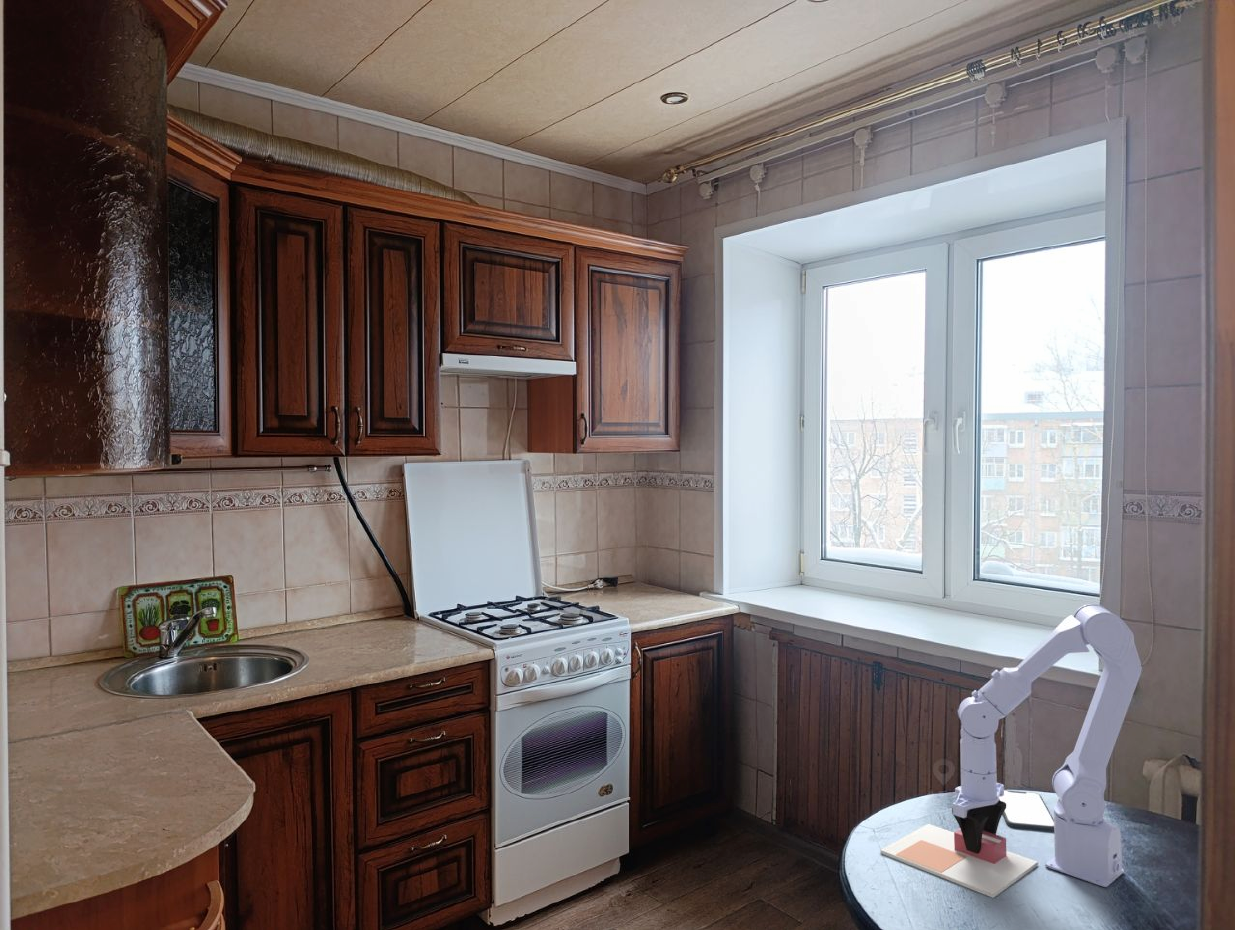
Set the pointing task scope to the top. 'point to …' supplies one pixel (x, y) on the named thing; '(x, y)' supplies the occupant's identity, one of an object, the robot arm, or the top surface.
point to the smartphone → (1026, 811)
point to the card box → (984, 846)
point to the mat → (957, 861)
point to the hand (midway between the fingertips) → (980, 846)
